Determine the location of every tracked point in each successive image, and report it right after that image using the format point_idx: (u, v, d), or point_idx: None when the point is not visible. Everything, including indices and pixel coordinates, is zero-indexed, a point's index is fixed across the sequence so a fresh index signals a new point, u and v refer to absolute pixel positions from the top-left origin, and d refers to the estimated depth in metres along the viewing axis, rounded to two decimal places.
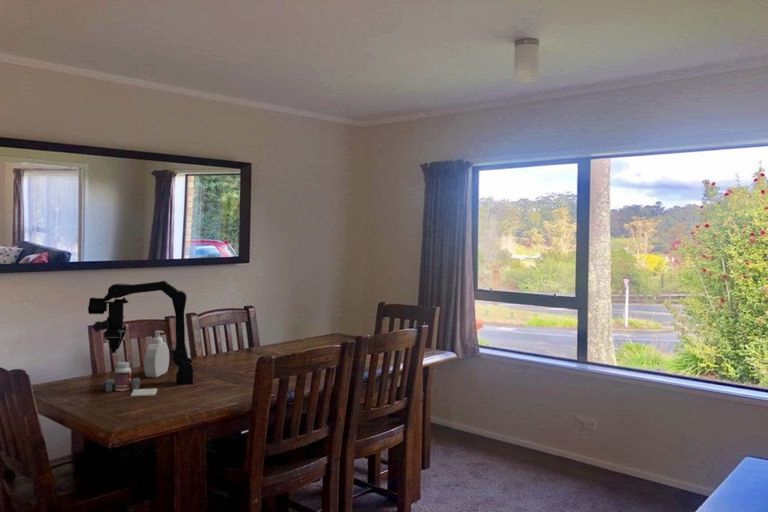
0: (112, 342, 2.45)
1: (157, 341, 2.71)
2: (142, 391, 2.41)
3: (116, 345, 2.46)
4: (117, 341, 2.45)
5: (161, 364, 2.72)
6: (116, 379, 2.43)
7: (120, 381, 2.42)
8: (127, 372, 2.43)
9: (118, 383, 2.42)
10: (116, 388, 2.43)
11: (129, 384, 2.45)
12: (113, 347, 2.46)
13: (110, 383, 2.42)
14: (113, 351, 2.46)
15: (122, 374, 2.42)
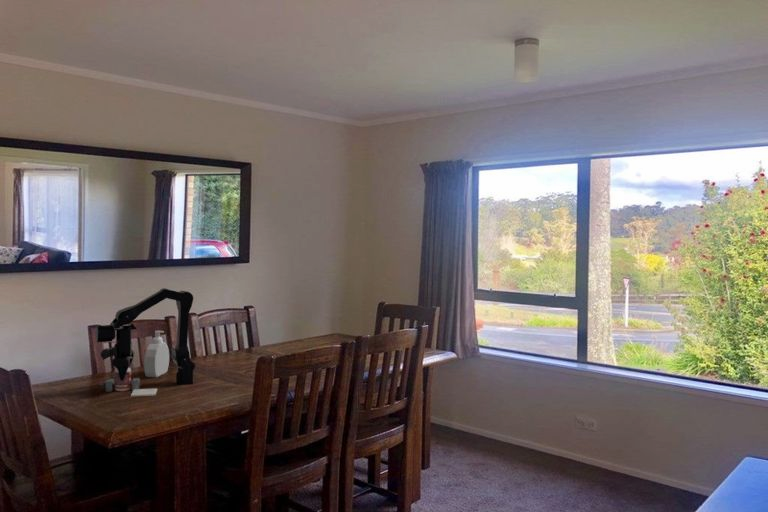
0: (121, 369, 2.41)
1: (157, 341, 2.71)
2: (142, 391, 2.41)
3: (124, 372, 2.41)
4: (125, 368, 2.41)
5: (161, 364, 2.72)
6: (116, 379, 2.43)
7: (120, 381, 2.42)
8: (127, 372, 2.43)
9: (118, 383, 2.42)
10: (116, 388, 2.43)
11: (129, 384, 2.45)
12: (121, 374, 2.41)
13: (110, 383, 2.42)
14: (121, 378, 2.42)
15: None
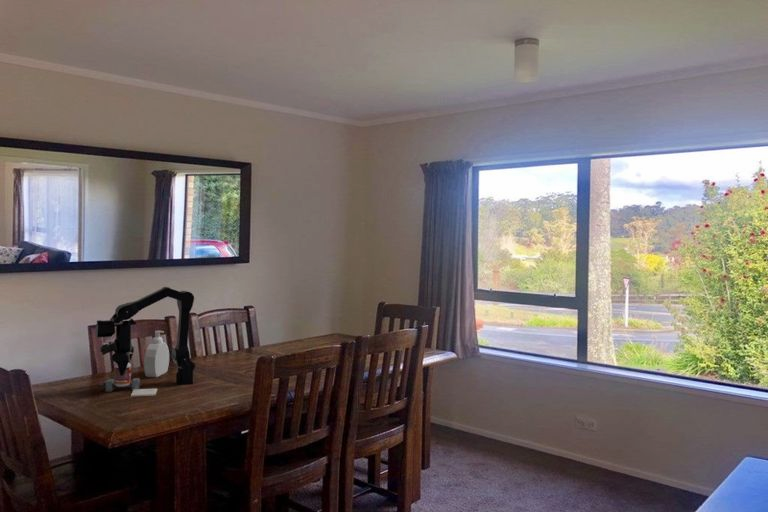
0: (121, 364, 2.41)
1: (157, 341, 2.71)
2: (142, 391, 2.41)
3: (124, 368, 2.41)
4: (125, 363, 2.41)
5: (161, 364, 2.72)
6: (116, 374, 2.42)
7: (120, 376, 2.42)
8: (127, 368, 2.43)
9: (118, 378, 2.42)
10: (116, 383, 2.43)
11: (129, 379, 2.44)
12: (121, 370, 2.41)
13: (110, 383, 2.42)
14: (121, 374, 2.42)
15: None
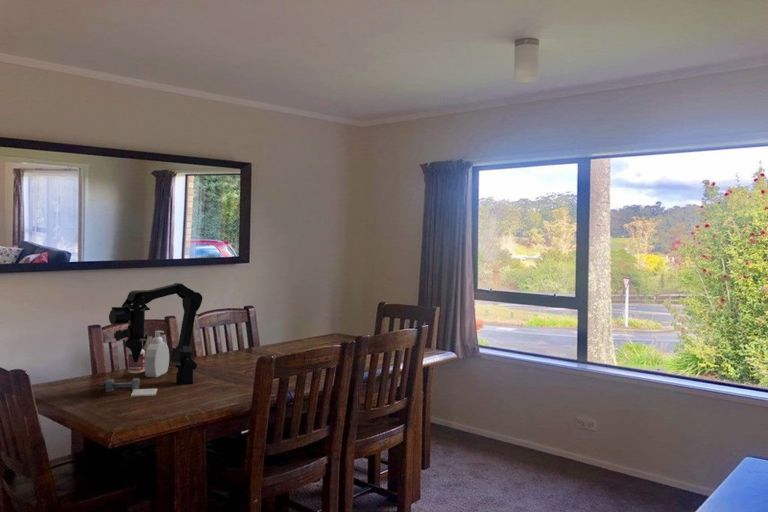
0: (134, 351, 2.38)
1: (157, 341, 2.71)
2: (142, 391, 2.41)
3: (138, 354, 2.38)
4: (139, 350, 2.38)
5: (161, 364, 2.72)
6: (130, 361, 2.40)
7: (133, 363, 2.39)
8: (141, 354, 2.40)
9: (131, 365, 2.39)
10: (130, 370, 2.40)
11: (143, 366, 2.41)
12: (135, 356, 2.38)
13: (110, 383, 2.42)
14: (135, 360, 2.39)
15: None
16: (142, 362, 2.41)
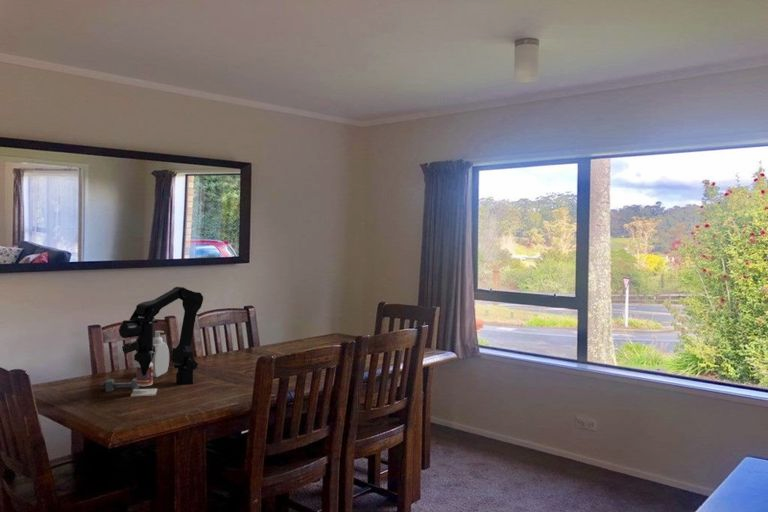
0: (143, 364, 2.36)
1: (157, 341, 2.71)
2: (142, 391, 2.41)
3: (147, 367, 2.36)
4: (148, 363, 2.36)
5: (161, 364, 2.72)
6: (138, 374, 2.38)
7: (142, 376, 2.37)
8: (149, 367, 2.39)
9: (140, 378, 2.37)
10: (138, 383, 2.38)
11: (151, 379, 2.40)
12: (144, 369, 2.36)
13: (110, 383, 2.42)
14: (143, 373, 2.37)
15: None
16: (150, 375, 2.39)
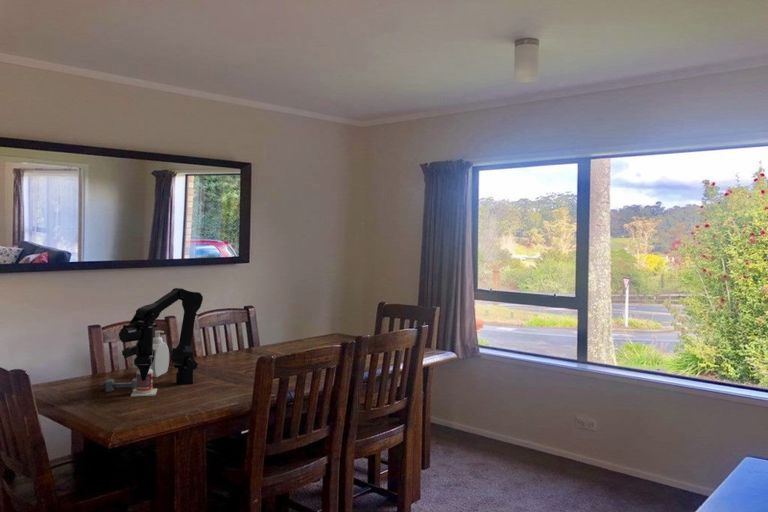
0: (142, 369, 2.35)
1: (157, 341, 2.71)
2: None
3: (146, 372, 2.35)
4: (147, 368, 2.35)
5: (161, 364, 2.72)
6: (138, 381, 2.38)
7: (142, 383, 2.38)
8: (149, 374, 2.39)
9: (139, 385, 2.38)
10: (138, 390, 2.38)
11: (151, 386, 2.40)
12: (143, 374, 2.35)
13: (110, 383, 2.42)
14: (143, 378, 2.36)
15: None
16: (150, 382, 2.39)
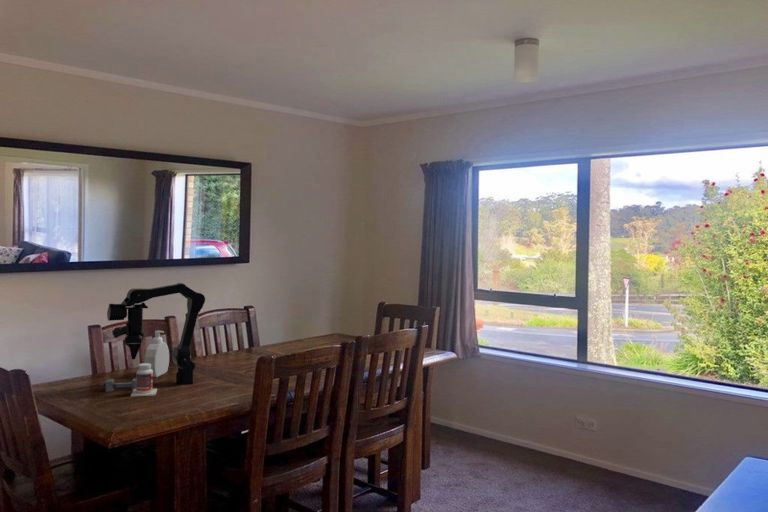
0: (133, 348, 2.41)
1: (157, 341, 2.71)
2: None
3: (136, 351, 2.42)
4: (137, 347, 2.41)
5: (161, 364, 2.72)
6: (138, 381, 2.38)
7: (142, 383, 2.38)
8: (149, 374, 2.39)
9: (139, 385, 2.38)
10: (138, 390, 2.38)
11: (151, 386, 2.40)
12: (133, 353, 2.42)
13: (110, 383, 2.42)
14: (133, 357, 2.42)
15: (144, 375, 2.38)
16: (150, 382, 2.39)
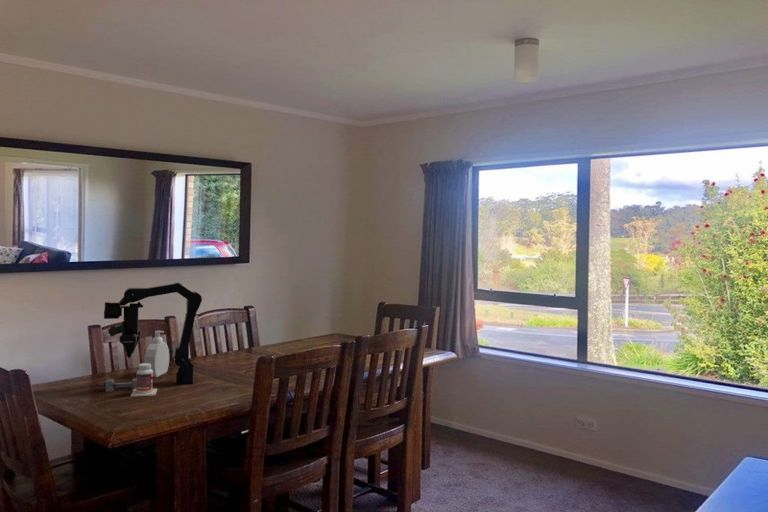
0: (128, 346, 2.45)
1: (157, 341, 2.71)
2: None
3: (131, 350, 2.45)
4: (132, 346, 2.45)
5: (161, 364, 2.72)
6: (138, 381, 2.38)
7: (142, 383, 2.38)
8: (149, 374, 2.39)
9: (139, 385, 2.38)
10: (138, 390, 2.38)
11: (151, 386, 2.40)
12: (128, 352, 2.45)
13: (110, 383, 2.42)
14: (128, 356, 2.45)
15: (144, 375, 2.38)
16: (150, 382, 2.39)
